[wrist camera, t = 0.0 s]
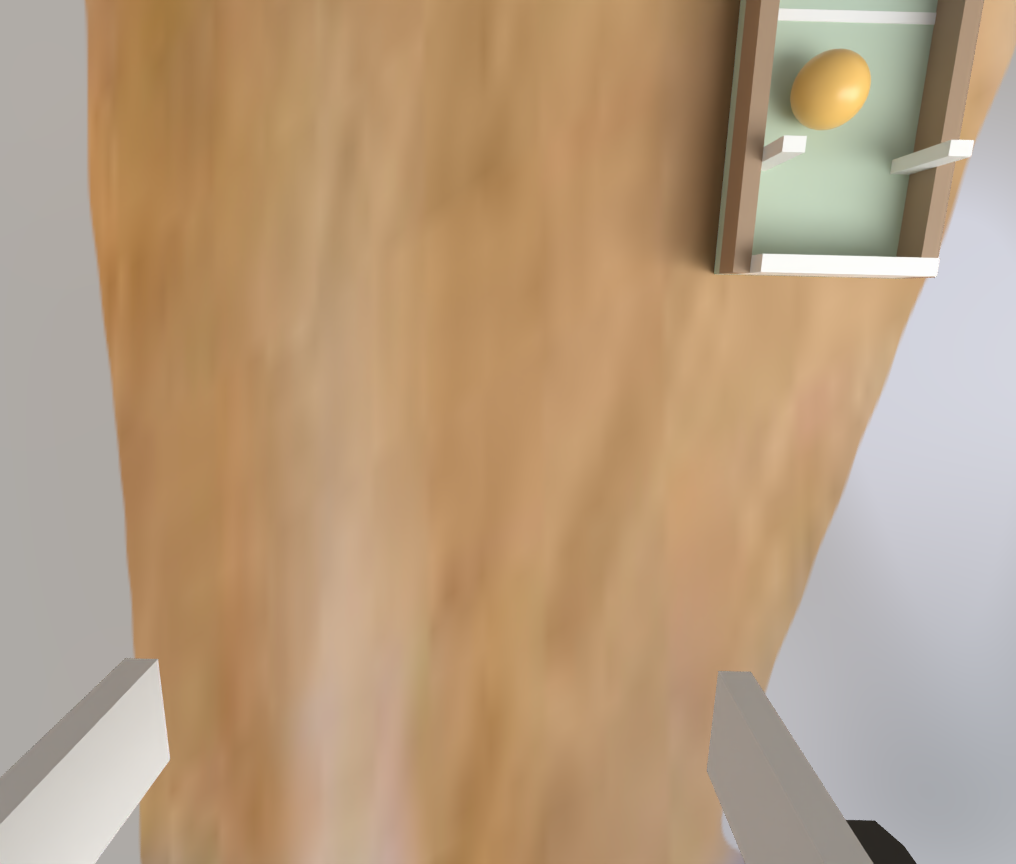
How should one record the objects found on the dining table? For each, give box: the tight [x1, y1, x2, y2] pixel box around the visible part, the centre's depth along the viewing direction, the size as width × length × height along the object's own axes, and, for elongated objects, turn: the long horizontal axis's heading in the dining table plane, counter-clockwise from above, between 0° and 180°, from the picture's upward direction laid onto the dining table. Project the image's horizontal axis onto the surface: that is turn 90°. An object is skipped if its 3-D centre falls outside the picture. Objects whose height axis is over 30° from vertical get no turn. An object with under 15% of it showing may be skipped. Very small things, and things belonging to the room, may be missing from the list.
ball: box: [790, 48, 871, 130], centre depth 34 cm, size 4×4×4 cm
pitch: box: [714, 0, 984, 279], centre depth 33 cm, size 27×12×6 cm, turn 179°
